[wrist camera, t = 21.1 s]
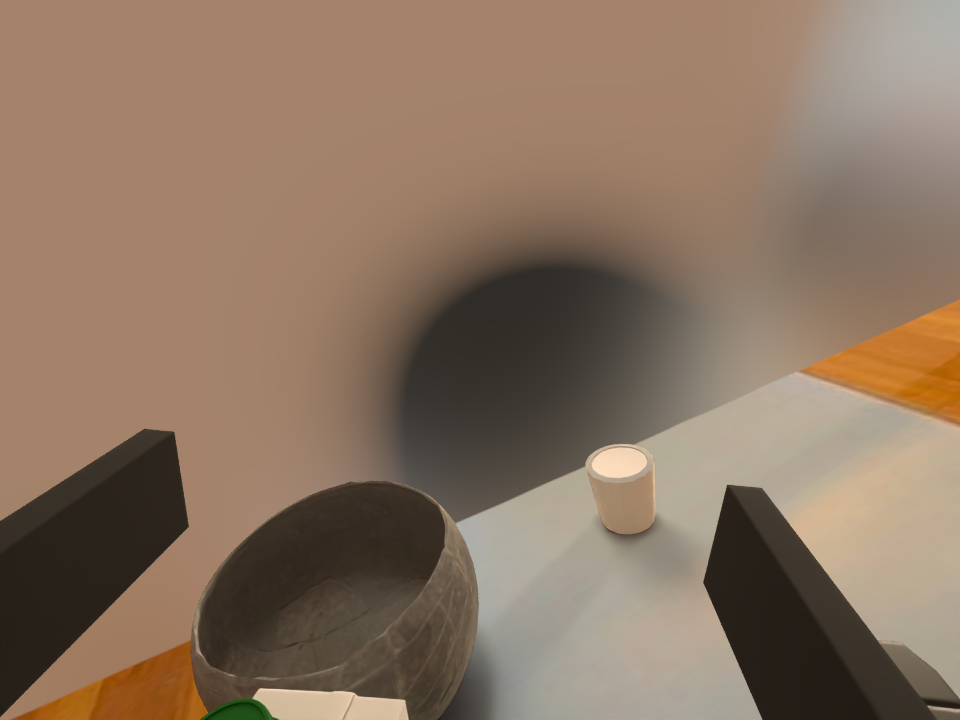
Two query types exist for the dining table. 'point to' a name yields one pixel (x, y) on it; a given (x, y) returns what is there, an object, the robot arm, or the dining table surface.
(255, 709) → the milk carton
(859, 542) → the dining table surface
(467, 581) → the bowl
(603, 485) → the beige tapered cylinder
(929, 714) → the robot arm
